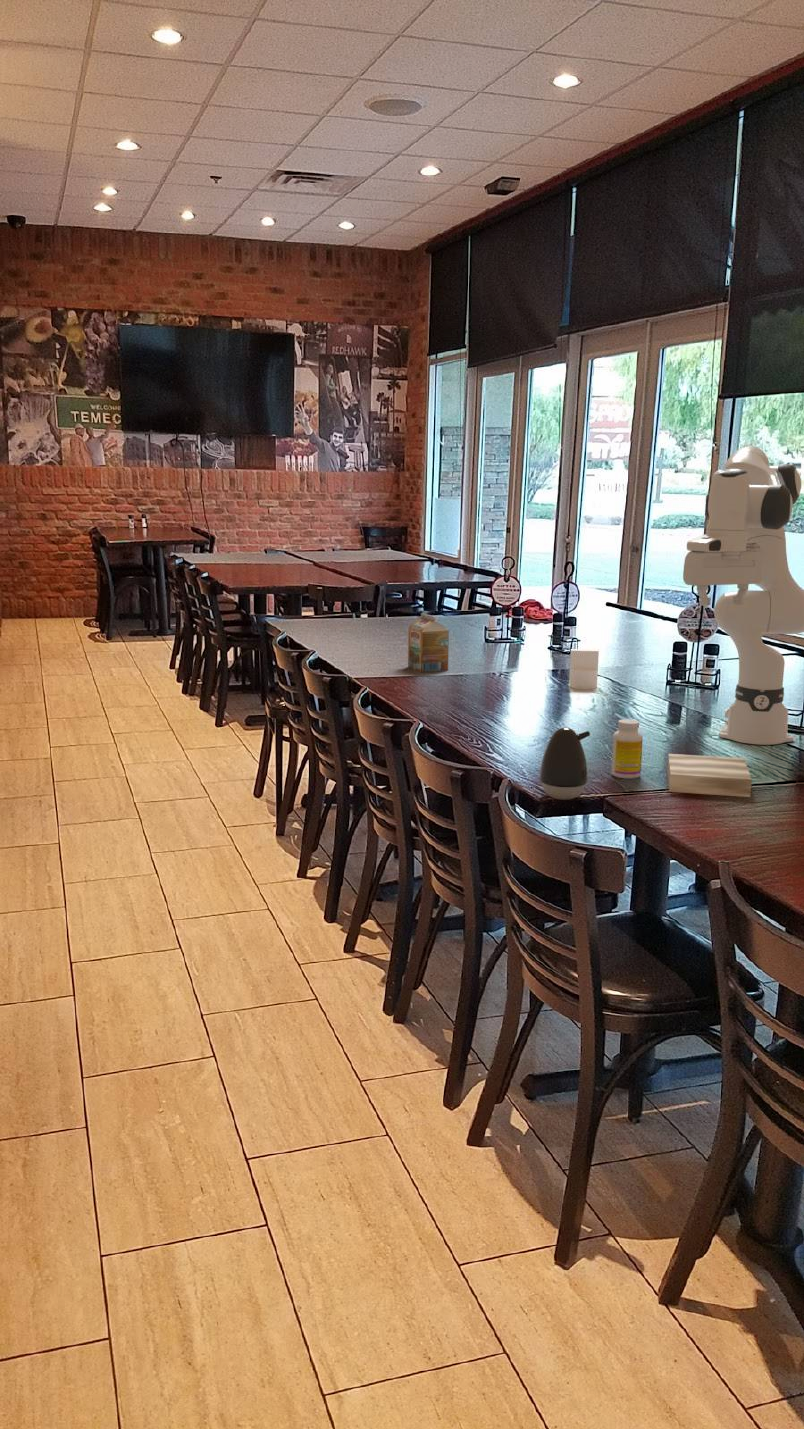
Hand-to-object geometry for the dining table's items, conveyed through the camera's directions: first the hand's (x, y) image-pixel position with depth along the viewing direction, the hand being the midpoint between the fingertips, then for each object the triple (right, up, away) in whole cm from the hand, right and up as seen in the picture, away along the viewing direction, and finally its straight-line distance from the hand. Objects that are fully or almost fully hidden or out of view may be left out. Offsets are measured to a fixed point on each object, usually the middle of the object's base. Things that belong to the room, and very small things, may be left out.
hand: (721, 604), depth 246 cm
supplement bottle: (-21, -39, +5) cm, 44 cm away
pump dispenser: (-37, -43, -11) cm, 58 cm away
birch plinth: (-3, -40, -1) cm, 40 cm away
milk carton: (-63, -9, +138) cm, 152 cm away
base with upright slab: (-13, -16, +108) cm, 110 cm away
